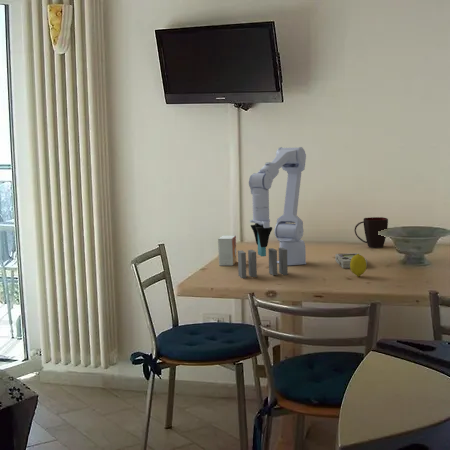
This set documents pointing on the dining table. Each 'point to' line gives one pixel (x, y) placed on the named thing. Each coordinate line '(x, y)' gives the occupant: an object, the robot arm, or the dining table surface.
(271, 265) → the domino
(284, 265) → the domino
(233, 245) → the small box
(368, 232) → the cup
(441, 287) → the dining table surface
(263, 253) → the teal domino
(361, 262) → the lemon
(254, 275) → the domino
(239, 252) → the domino
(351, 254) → the handheld gaming console
